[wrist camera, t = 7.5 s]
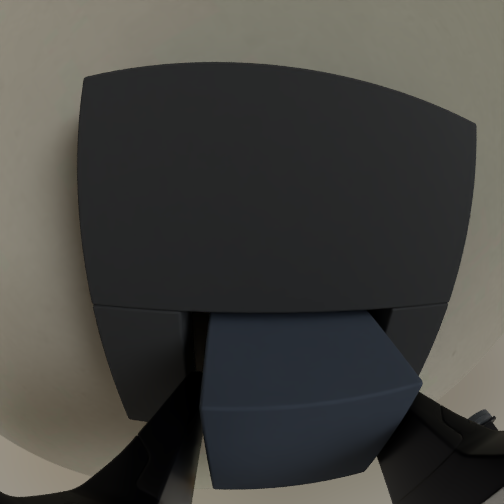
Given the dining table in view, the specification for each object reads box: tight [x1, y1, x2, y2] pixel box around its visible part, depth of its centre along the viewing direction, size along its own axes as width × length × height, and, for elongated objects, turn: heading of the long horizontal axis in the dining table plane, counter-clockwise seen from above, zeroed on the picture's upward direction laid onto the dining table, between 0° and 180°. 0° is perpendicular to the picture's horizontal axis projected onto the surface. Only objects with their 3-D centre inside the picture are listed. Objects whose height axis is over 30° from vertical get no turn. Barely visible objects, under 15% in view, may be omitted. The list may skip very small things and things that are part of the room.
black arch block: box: [77, 62, 476, 422], centre depth 8 cm, size 12×12×2 cm
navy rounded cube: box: [199, 310, 423, 489], centre depth 8 cm, size 5×5×5 cm
